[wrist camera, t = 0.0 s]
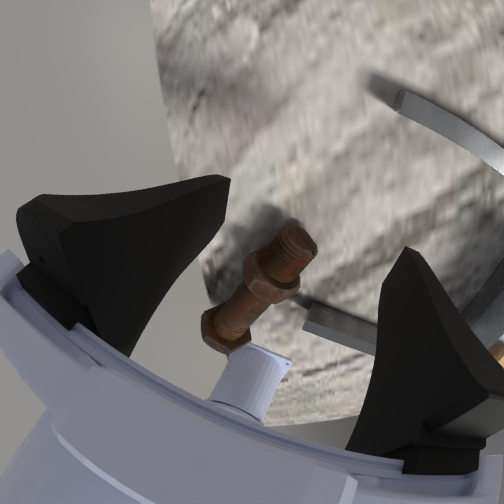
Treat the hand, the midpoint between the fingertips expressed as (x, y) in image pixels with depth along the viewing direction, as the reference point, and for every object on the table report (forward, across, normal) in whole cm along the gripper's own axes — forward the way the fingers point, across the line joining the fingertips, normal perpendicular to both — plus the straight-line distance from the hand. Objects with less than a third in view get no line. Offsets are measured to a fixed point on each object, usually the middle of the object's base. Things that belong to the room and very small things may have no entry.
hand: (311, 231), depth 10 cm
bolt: (+8, 0, +5) cm, 9 cm away
